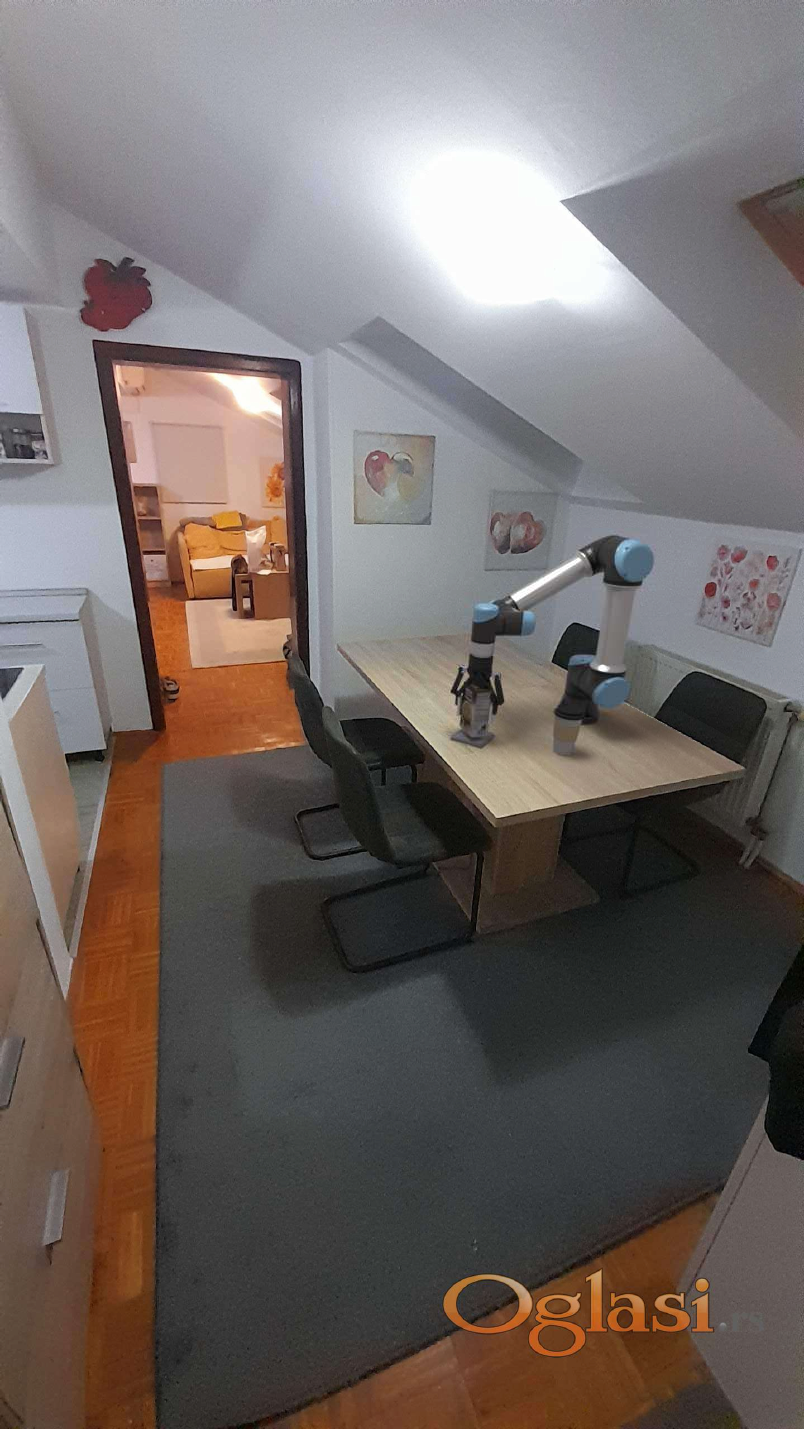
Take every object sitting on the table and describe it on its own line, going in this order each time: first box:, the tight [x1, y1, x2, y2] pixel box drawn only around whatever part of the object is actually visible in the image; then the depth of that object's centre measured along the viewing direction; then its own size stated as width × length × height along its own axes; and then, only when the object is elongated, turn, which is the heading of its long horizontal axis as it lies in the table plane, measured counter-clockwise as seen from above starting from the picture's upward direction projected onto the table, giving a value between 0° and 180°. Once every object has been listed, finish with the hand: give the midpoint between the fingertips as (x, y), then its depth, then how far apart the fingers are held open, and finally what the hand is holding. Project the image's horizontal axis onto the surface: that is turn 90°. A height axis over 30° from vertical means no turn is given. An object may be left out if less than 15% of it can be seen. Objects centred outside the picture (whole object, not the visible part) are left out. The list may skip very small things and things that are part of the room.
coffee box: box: [459, 681, 494, 737], centre depth 190 cm, size 9×6×16 cm
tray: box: [450, 728, 495, 749], centre depth 194 cm, size 11×11×1 cm
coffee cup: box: [552, 704, 585, 756], centre depth 185 cm, size 9×9×15 cm
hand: (474, 718), depth 192 cm, fingers closed on coffee box, 10 cm apart
